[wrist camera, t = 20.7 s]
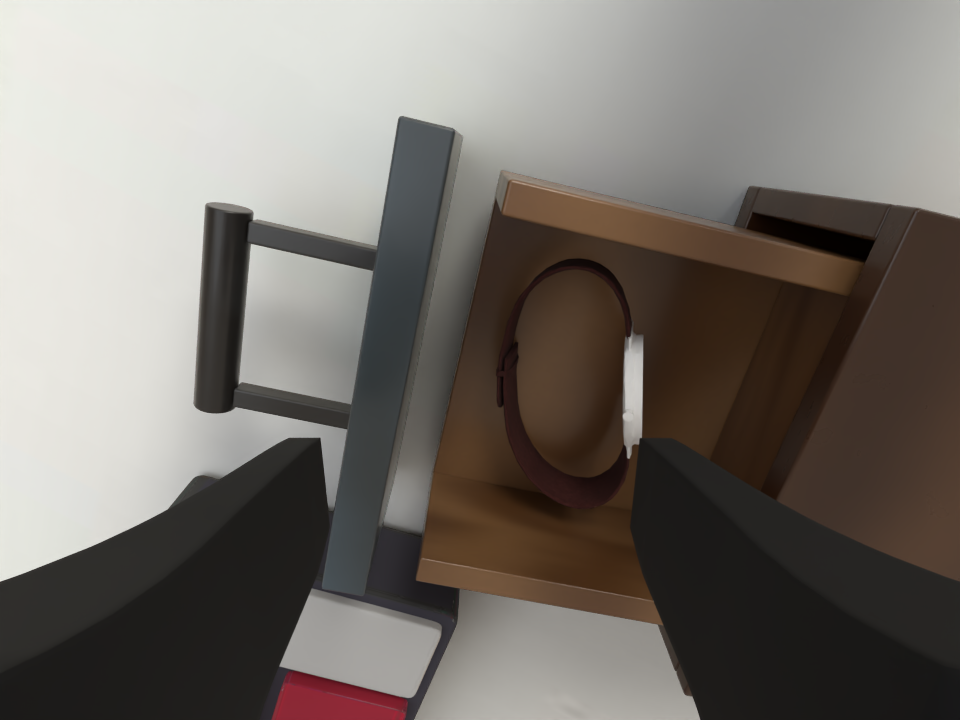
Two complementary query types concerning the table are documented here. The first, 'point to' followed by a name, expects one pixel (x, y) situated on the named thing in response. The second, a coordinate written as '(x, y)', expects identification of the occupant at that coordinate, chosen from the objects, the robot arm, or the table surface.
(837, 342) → the cabinet
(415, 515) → the table surface
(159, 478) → the table surface
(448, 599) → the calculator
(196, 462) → the table surface
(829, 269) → the drawer
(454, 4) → the table surface
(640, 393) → the watch
